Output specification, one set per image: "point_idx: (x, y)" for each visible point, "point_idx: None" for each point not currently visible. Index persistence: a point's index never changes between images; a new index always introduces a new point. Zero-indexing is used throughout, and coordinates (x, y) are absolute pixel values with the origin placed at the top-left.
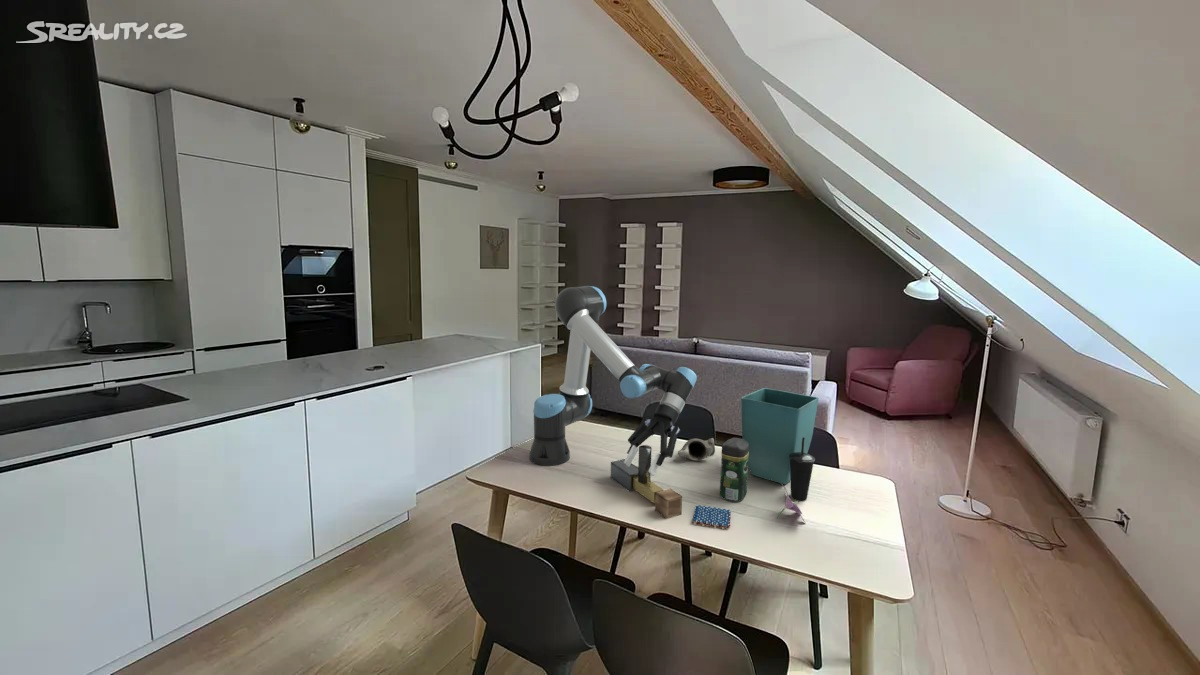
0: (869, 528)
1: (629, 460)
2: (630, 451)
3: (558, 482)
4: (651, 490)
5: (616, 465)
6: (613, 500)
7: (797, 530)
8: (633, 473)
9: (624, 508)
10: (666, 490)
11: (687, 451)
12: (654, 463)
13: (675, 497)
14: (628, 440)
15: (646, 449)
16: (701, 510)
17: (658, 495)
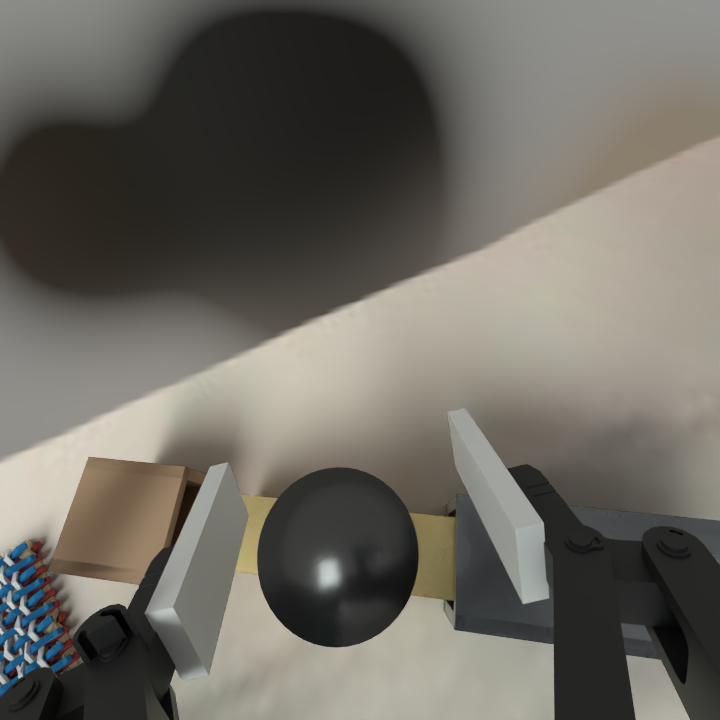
0: None
1: (462, 459)
2: (497, 472)
3: (700, 275)
4: (251, 495)
5: (650, 516)
6: (413, 383)
7: None
8: (467, 531)
9: (327, 381)
10: (156, 542)
11: None
12: (187, 518)
13: (69, 520)
14: (668, 530)
15: (279, 516)
16: (29, 666)
17: (163, 465)
